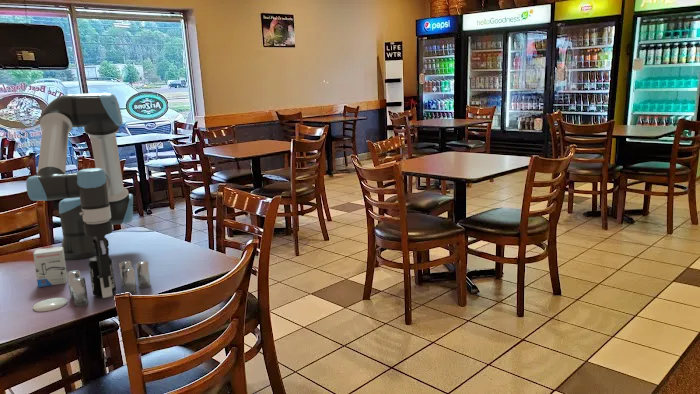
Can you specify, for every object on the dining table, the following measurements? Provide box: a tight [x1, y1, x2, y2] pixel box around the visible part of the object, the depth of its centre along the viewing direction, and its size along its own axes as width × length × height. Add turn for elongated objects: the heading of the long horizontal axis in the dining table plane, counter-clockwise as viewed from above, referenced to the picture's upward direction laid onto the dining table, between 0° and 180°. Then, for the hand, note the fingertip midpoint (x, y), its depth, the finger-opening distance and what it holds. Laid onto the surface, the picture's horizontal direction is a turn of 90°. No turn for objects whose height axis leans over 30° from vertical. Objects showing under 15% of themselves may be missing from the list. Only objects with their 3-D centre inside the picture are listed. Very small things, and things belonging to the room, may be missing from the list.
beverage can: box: [88, 255, 117, 298], centre depth 162 cm, size 7×7×12 cm
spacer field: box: [67, 260, 151, 308], centre depth 163 cm, size 12×23×8 cm, turn 123°
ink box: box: [33, 246, 68, 288], centre depth 173 cm, size 9×5×12 cm, turn 114°
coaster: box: [32, 297, 68, 313], centre depth 156 cm, size 9×9×1 cm
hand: (107, 296), depth 157 cm, fingers closed
